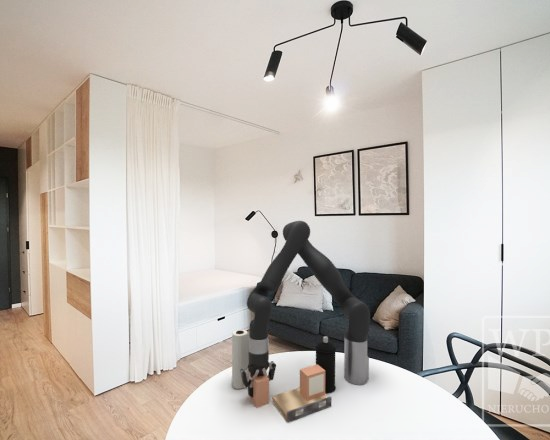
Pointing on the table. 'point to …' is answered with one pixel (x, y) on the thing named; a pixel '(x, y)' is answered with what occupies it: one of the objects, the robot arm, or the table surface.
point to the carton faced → (312, 382)
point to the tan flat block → (298, 404)
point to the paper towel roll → (239, 356)
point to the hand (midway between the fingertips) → (258, 393)
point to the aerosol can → (327, 362)
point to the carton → (260, 390)
